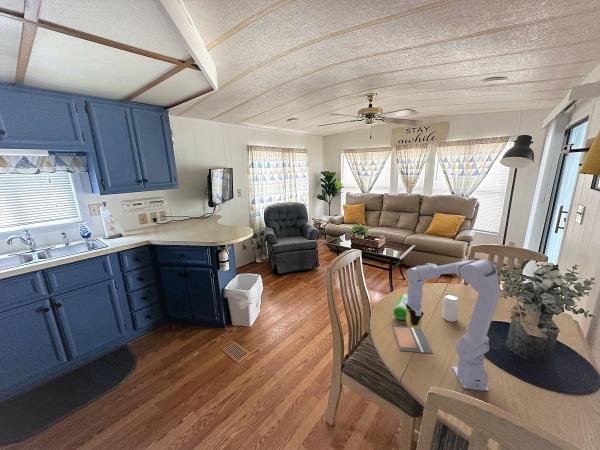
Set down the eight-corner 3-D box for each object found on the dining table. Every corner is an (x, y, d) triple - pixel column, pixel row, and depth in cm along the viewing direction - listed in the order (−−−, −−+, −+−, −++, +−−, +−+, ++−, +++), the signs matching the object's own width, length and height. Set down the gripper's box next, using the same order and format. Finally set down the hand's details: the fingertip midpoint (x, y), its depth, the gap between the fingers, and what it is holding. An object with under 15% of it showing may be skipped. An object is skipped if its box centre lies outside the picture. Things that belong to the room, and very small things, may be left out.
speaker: (407, 323, 122) (408, 309, 121) (392, 318, 126) (393, 305, 125) (414, 306, 137) (415, 294, 135) (400, 303, 141) (401, 291, 139)
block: (420, 328, 107) (421, 315, 106) (408, 327, 108) (409, 315, 107) (417, 321, 112) (418, 309, 111) (405, 320, 113) (406, 308, 112)
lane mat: (432, 353, 102) (432, 352, 102) (399, 350, 104) (399, 349, 104) (419, 326, 119) (419, 326, 119) (391, 324, 121) (391, 324, 121)
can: (459, 322, 121) (461, 300, 118) (444, 321, 122) (446, 299, 120) (453, 315, 127) (456, 294, 125) (440, 314, 129) (442, 293, 126)
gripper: (401, 285, 114) (400, 311, 117) (409, 301, 101) (407, 330, 103) (417, 286, 113) (415, 312, 116) (427, 302, 99) (425, 332, 102)
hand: (412, 321), depth 110 cm, fingers closed on block, 5 cm apart
